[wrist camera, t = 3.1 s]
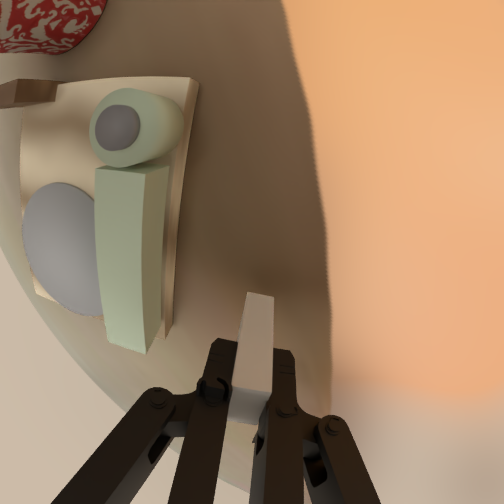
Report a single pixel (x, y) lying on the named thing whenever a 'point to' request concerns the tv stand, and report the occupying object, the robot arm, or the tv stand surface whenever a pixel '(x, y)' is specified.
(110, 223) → the leg
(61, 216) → the seat pad
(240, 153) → the tv stand surface
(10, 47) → the mug
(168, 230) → the board
